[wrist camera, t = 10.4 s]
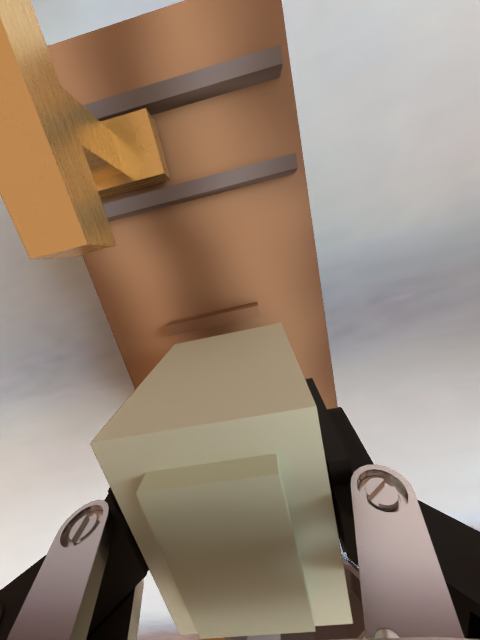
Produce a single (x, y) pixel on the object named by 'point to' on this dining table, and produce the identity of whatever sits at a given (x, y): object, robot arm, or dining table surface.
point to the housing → (205, 183)
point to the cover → (230, 488)
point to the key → (62, 149)
